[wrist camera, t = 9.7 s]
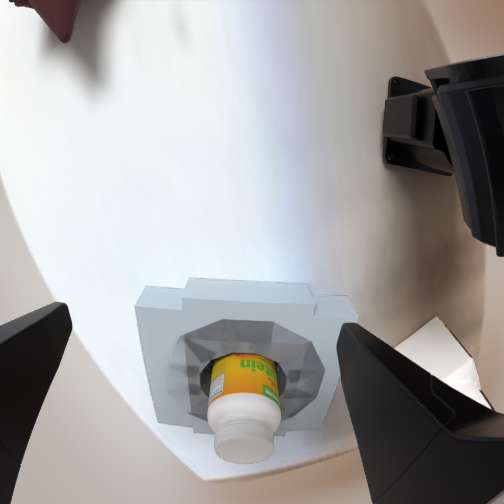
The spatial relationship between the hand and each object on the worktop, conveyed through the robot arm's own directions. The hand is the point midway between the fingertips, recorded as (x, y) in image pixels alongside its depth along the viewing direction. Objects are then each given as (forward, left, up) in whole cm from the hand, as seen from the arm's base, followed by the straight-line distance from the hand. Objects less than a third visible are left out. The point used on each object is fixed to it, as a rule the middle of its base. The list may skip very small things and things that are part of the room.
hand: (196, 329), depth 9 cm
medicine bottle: (-20, +13, -13) cm, 27 cm away
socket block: (-2, +13, -13) cm, 18 cm away
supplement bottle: (-2, +13, -13) cm, 19 cm away
